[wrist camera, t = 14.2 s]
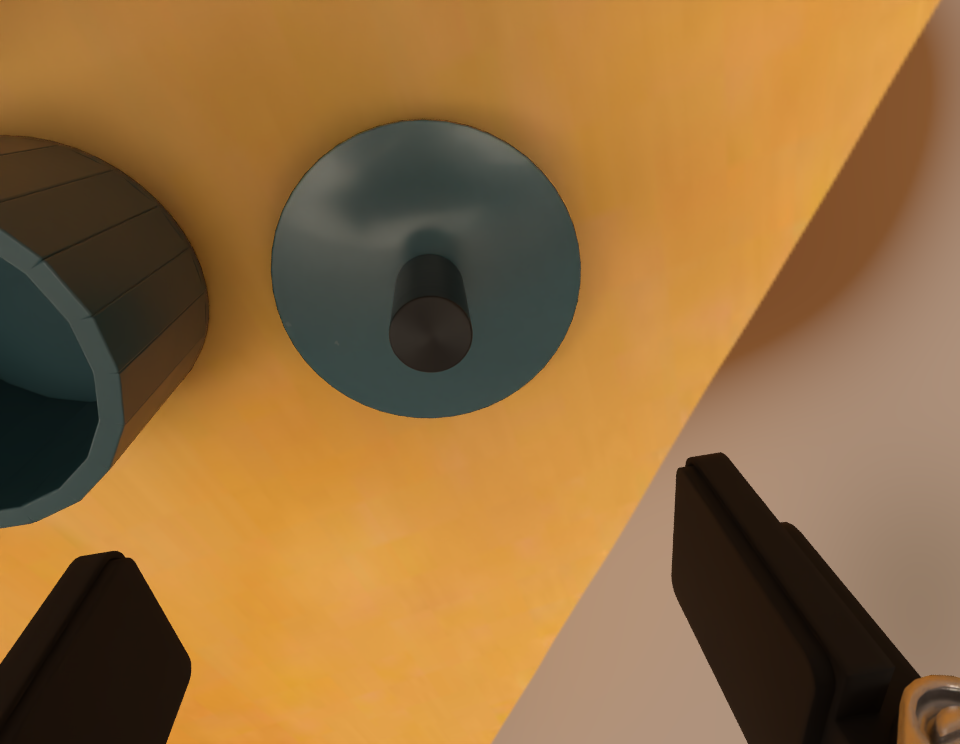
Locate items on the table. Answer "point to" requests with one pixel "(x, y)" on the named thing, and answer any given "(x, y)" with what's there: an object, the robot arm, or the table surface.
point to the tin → (84, 321)
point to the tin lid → (425, 268)
